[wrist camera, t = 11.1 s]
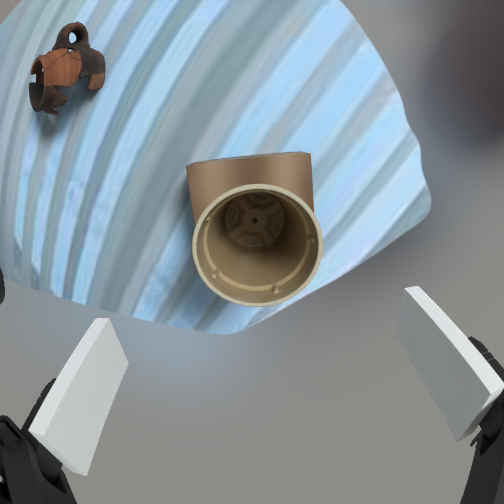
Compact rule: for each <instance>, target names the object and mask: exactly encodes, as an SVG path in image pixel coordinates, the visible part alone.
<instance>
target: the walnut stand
mask: <svg viewBox="0 0 504 504" xmlns="http://www.w3.org/2000/svg"><path fill="white" fill-rule="evenodd" d="M186 171H187V178H188V185H189V192H190V198H191V205H192V211H193V217H194V224H195V227H196V224H197V222H198V220H199V218H200V216H201V215H202V213H203V212H204V210H205V209H206V208H207V207H208V205H209V204H210V203H211V202H213V201H214V200H215V199H216V198H217V197H219V196H220V195H222V194H223V193H225V192H227V191H229V190H231V189H234V188H236V187H240V186H243V185H249V184H268V185H273V186H277V187H280V188H283V189H285V190H288V191H290V192H291V193H293V194H295V195H296V196H298V197H299V198H300V199H302V200H303V201H304V202H305V203H306V204H307V205H308V206H309V207H310V209H311V210H312V212H313V213H314V204H313V184H312V167H311V154H310V153H305V152H286V153H272V154H261V155H250V156H240V157H231V158H223V159H215V160H208V161H200V162H194V163H192V164H190V165H187V166H186ZM255 197H257V198H259V199H261V198H262V199H266V198H265V197H264V196H261V195H255ZM234 212H235V211H234V210H232V209H231V211H230V214H229V216H228V219H229V221H233V217H234ZM253 222H254V223H256V222H257V219H253ZM281 226H282V218H279V221H278V226H277V230H279V229H280V228H281ZM244 243H246V244H256V242H255V241H249V240H247V239H246V240H244Z"/></svg>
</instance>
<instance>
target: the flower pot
mask: <svg viewBox="0 0 504 504" xmlns="http://www.w3.org/2000/svg"><path fill="white" fill-rule="evenodd" d="M255 195H261V196H264V197H265V198H266V199H262V198H261V199H259V198H257V197H255ZM231 209H232V210H234V211H235V212H234V217H233V221H229V219H228V216H229V214H230V211H231ZM279 218H282V226H281V228H280V229H279V230H277V226H278V221H279ZM253 219H257V222H256V223H254V222H253ZM246 239H247V240H249V241H255V242H256V244H246V243H244V240H246ZM322 249H323V239H322V233H321V229H320V226H319V222H318V220H317V218H316V217H315V215H314V213H313V212H312V210H311V209H310V207H309V206H308V205H307V204H306V203H305V202H304V201H303V200H302V199H300V198H299V197H298V196H296V195H295V194H293V193H291V192H290V191H288V190H285V189H283V188H280V187H277V186H273V185H268V184H249V185H243V186H240V187H236V188H234V189H231V190H229V191H227V192H225V193H223V194H222V195H220V196H219V197H217V198H216V199H215V200H214V201H213V202H211V203H210V204H209V205H208V207H207V208H206V209H205V210H204V212H203V213H202V215H201V216H200V218H199V220H198V222H197V224H196V227H195V229H194V234H193V239H192V254H193V260H194V263H195V265H196V268H197V271H198V273H199V275H200V277H201V279H202V280H203V281H204V282H205V284H206V285H207V286H208V287H209V288H210V289H211V290H212V291H213V292H214V293H216V294H217V295H219V296H220V297H222V298H223V299H225V300H228V301H230V302H233V303H235V304H239V305H243V306H251V307H264V306H270V305H275V304H278V303H281V302H283V301H286V300H288V299H290V298H292V297H293V296H295V295H296V294H298V293H299V292H300V291H301V290H303V289H304V288H305V287H306V286H307V285H308V284H309V282H310V281H311V280H312V279H313V277H314V275H315V273H316V271H317V269H318V267H319V264H320V260H321V256H322Z"/></svg>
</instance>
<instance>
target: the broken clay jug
mask: <svg viewBox="0 0 504 504" xmlns="http://www.w3.org/2000/svg"><path fill="white" fill-rule="evenodd" d="M71 32H73V33H74V34H75V35H76V41H75V42H74V43H70V41H69V35H70V33H71ZM68 49H71V50H74V51H71V52H69V50H68ZM42 68H43V72H42ZM33 74H36V83H34V82H33V83H32V82H30V83H29V97H30V102H31V105H32V107H33V109H34V111H35V112H39V111H41V110H43V111H45V112H46V113H49V114H58V112H57V111H54V110H53V109H52V108H56V107H58V106H62V105H64V104H65V103H66V102H67V100H68V98H67V97H65V96H62V95H61V94H60V93H59V92H58V90H57V88H56V86H64V87H70V86H72V85H74V84H75V83H76V81H77V80H78V78H82V77H84V76H88V75H89V76H90V80H89V86H88V89H89V90H94V89H98V88H101V87H102V86H103V83H104V78H105V60H104V57H103V55H102V54H101V53H100V52H99V51H96V50H94V49H92V48H90V45H89V43H88V32H87V30H86V28H85V26H84V25H83V24H82V23H79V22H75V23H70V24H67V25H66V26H64V27H63V28H62V29H61V31H60V32H59V34H58V37H57V40H56V43H55V45H54V47H53V48H52V51H49V52H48V53H47V54H46V55H39V56H38V57H37V58H36V59H35V61H34V63H33V66H32V69H31V75H33Z"/></svg>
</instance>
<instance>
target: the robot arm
mask: <svg viewBox="0 0 504 504" xmlns="http://www.w3.org/2000/svg"><path fill="white" fill-rule="evenodd" d="M4 296H5V286H4V280H3V276H2V273H1V270H0V304H1V303H2V302H3V300H4ZM395 338H396V339H397V341H398V342H399V344H400V346H401V347H402V349H403V350H404V352H405V353H406V355H407V356H408V358H409V360H410V361H411V363H412V364H413V366H414V368H415V369H416V371H417V372H418V374H419V376H420V377H421V379H422V381H423V382H424V384H425V386H426V387H427V389H428V391H429V392H430V394H431V396H432V398H433V399H434V401H435V403H436V404H437V406H438V408H439V410H440V411H441V413H442V415H443V417H444V419H445V420H446V422H447V424H448V426H449V427H450V430H451V432H452V433H453V435H454V437H455V439H456V441H459V440H461V439H463V438H465V437H467V436H468V435H470V434H472V433H473V432H474V430H475V429H476V428H477V426H478V425H480V427H481V429H482V430H481V431H480V432H479V433H478V435H477V436H476V437H475V438H474V439H473V441H472V442H471V444H470V446H473V445H474V444H475V442H476V441H477V440H478V441H477V445H476V446H475V447H476V450H475V455H474V459H473V463H472V467H471V470H470V474H469V478H468V481H467V484H466V488H465V491H464V494H463V497H462V499H461V502H460V504H504V369H503V367H502V366H501V365H500V364H499V363H498V362H497V360H496V359H494V357H493V355H492V354H491V353H489V352H488V350H487V349H486V347H485V346H484V345H483V344H482V343H481V342H479V341H478V340H476V339H475V338H473V337H469V338H467V337H466V336H465V335H464V334H463V333H462V332H461V331H460V329H459V328H458V327H457V326H456V325H455V324H454V323H453V322H452V321H451V320H450V319H449V317H448V316H447V315H446V314H445V313H444V312H443V311H442V310H441V309H440V308H439V307H438V306H437V305H436V304H435V303H434V302H433V301H432V299H430V298H429V297H428V295H427V294H426V293H424V291H422V289H421V288H420V287H419V286H414V287H409V288H404V293H403V299H402V305H401V310H400V315H399V320H398V325H397V329H396V333H395ZM127 366H128V361H127V358H126V356H125V354H124V352H123V350H122V347H121V345H120V343H119V340H118V338H117V336H116V334H115V331H114V329H113V326H112V324H111V321H110V319H109V318H96V319H95V320H94V322H93V323H92V325H91V326H90V328H89V329H88V330H87V332H86V334H85V335H84V336H83V338H82V340H81V341H80V343H79V344H78V346H77V347H76V349H75V350H74V352H73V353H72V355H71V357H70V358H69V360H68V361H67V363H66V365H65V366H64V368H63V370H62V371H61V373H60V374H59V376H58V378H57V379H56V378H54V379H53V380H52V381H51V382H49V383H48V384H47V385H46V386H45V388H44V390H43V391H42V393H41V397H39V398H38V400H37V402H36V404H35V405H34V407H33V409H32V411H31V412H30V414H29V416H28V418H27V420H26V421H25V423H24V425H23V427H22V429H21V430H20V429H19V428H18V427H17V426H16V425H15V424H14V423H13V421H12V420H11V419H10V418H9V417H8V416H4V415H2V416H0V476H1V477H2V482H0V504H77V502H76V500H75V498H74V496H73V493H72V491H71V488H70V486H69V484H68V481H67V478H66V476H65V474H64V472H63V471H62V469H61V467H62V464H63V465H65V466H66V467H67V468H68V469H69V470H70V471H72V472H75V473H78V474H81V475H85V476H87V473H88V469H89V467H90V464H91V461H92V458H93V455H94V452H95V449H96V446H97V443H98V440H99V438H100V435H101V432H102V429H103V427H104V424H105V421H106V418H107V416H108V413H109V411H110V408H111V405H112V403H113V400H114V398H115V395H116V393H117V390H118V388H119V385H120V383H121V380H122V378H123V376H124V373H125V371H126V368H127Z"/></svg>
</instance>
